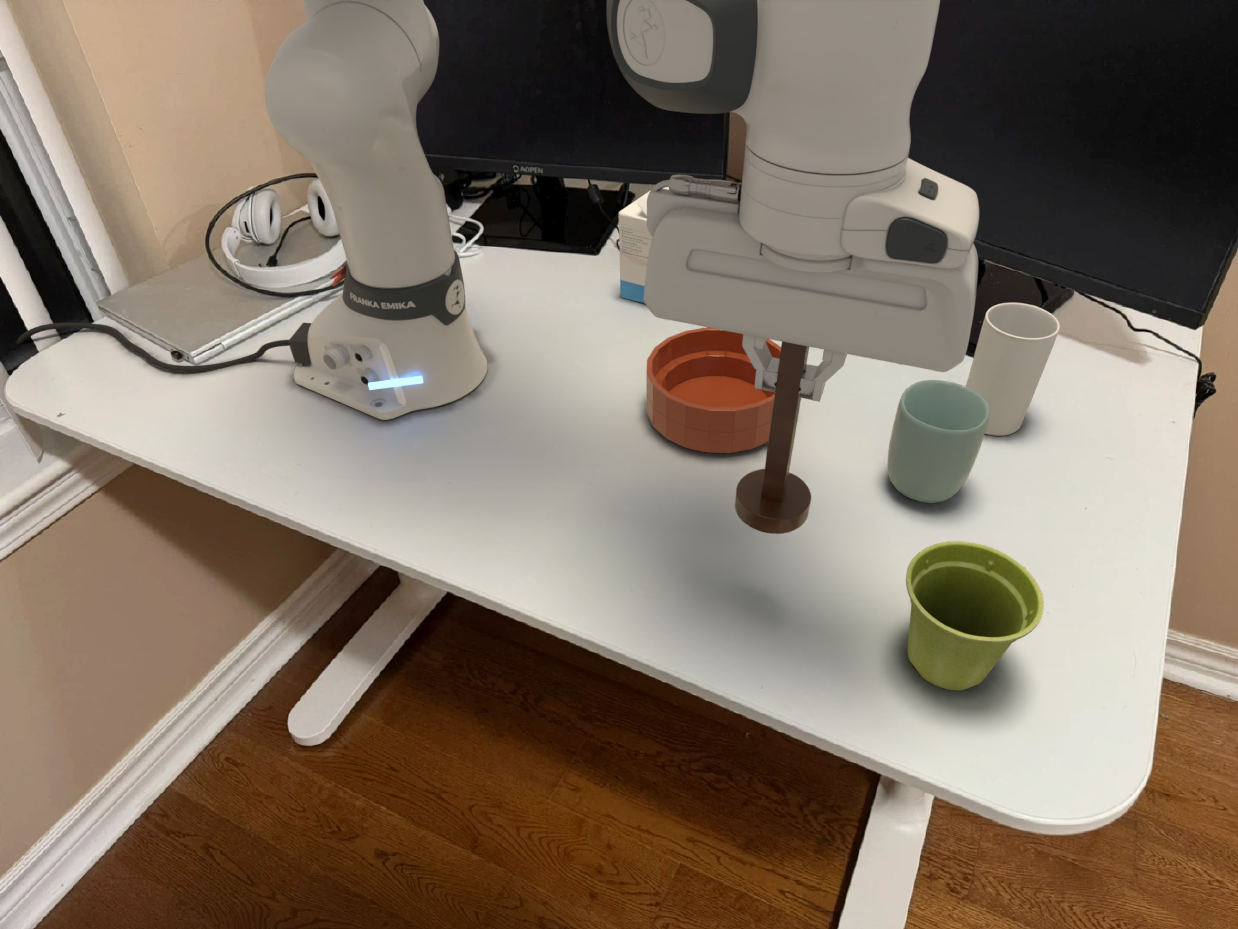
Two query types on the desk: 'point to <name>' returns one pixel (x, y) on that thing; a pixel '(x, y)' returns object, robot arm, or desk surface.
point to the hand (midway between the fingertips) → (789, 390)
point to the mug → (1011, 361)
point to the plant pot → (967, 611)
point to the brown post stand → (778, 458)
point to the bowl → (708, 392)
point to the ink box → (634, 248)
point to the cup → (936, 439)
